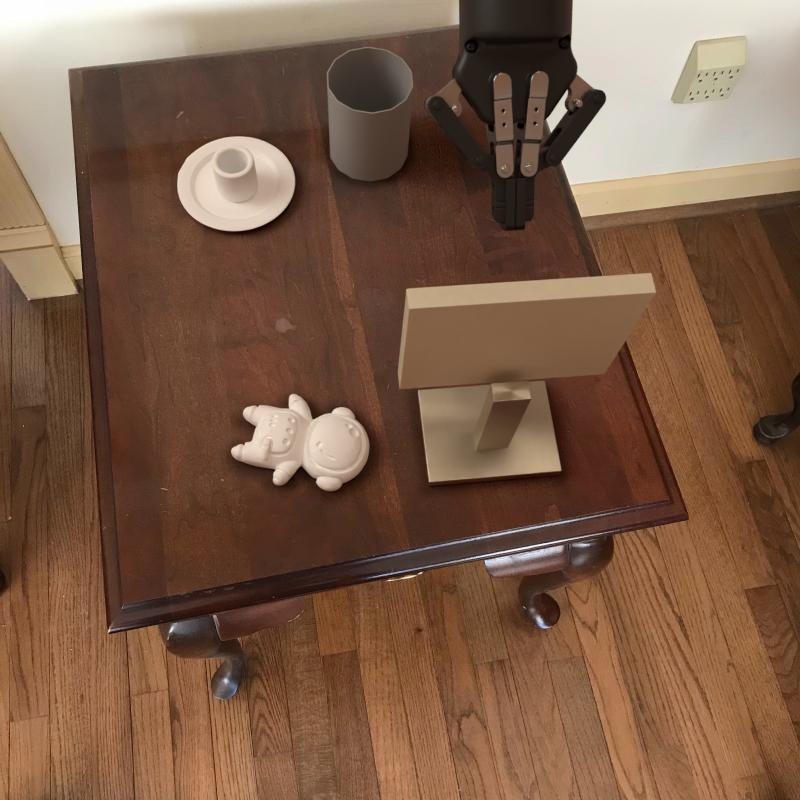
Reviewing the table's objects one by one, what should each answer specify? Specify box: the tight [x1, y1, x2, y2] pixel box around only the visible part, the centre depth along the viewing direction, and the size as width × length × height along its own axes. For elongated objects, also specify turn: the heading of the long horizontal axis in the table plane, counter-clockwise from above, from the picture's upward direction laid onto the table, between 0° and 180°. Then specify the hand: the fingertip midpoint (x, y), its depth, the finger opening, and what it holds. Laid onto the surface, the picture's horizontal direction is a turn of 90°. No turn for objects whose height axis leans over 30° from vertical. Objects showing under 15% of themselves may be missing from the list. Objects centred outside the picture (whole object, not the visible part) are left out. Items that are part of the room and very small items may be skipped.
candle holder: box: [176, 135, 296, 232], centre depth 85 cm, size 12×12×4 cm
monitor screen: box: [397, 272, 657, 390], centre depth 62 cm, size 2×17×13 cm, turn 96°
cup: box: [326, 46, 414, 183], centre depth 85 cm, size 8×8×10 cm
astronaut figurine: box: [230, 393, 370, 492], centre depth 74 cm, size 9×12×3 cm
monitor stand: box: [416, 380, 563, 487], centre depth 71 cm, size 9×12×12 cm
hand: (512, 228), depth 61 cm, fingers closed
